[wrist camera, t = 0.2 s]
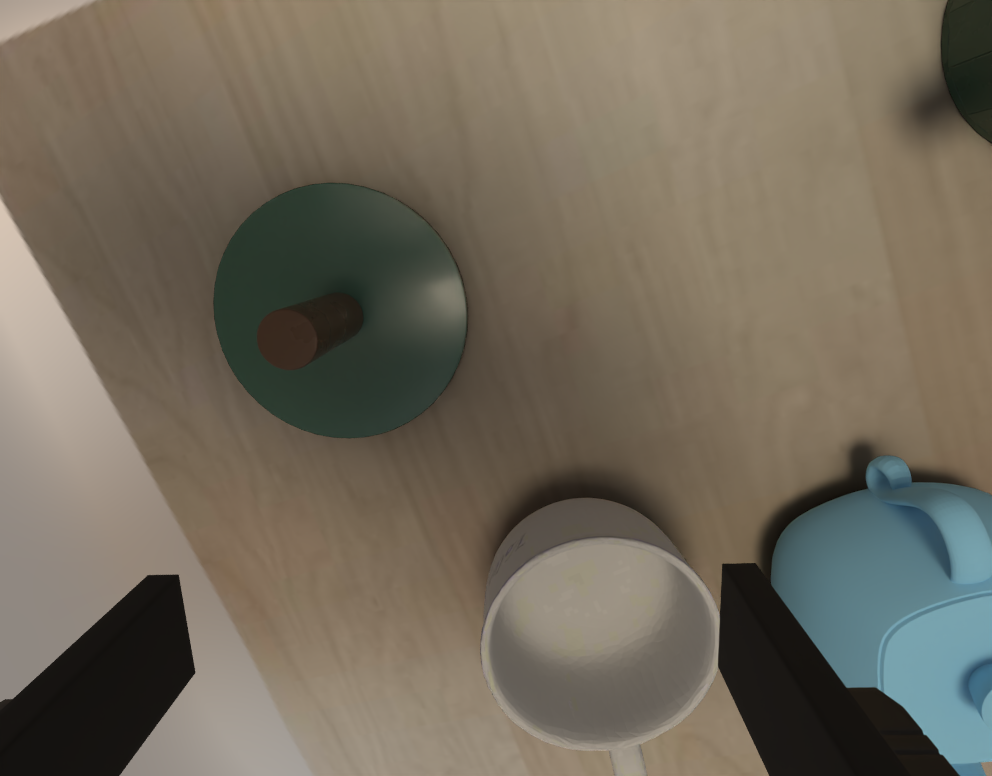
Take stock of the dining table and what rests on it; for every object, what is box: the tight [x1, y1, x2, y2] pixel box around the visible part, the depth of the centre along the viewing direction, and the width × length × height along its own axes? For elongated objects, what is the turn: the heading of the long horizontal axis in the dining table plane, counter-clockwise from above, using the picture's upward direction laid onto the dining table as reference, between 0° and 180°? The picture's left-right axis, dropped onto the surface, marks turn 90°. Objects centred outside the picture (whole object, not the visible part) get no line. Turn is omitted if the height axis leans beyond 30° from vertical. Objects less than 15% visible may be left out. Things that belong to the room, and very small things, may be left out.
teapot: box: [771, 456, 992, 776], centre depth 30 cm, size 13×11×18 cm
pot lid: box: [213, 183, 468, 438], centre depth 29 cm, size 13×13×9 cm
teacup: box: [480, 498, 720, 776], centre depth 32 cm, size 14×11×8 cm
